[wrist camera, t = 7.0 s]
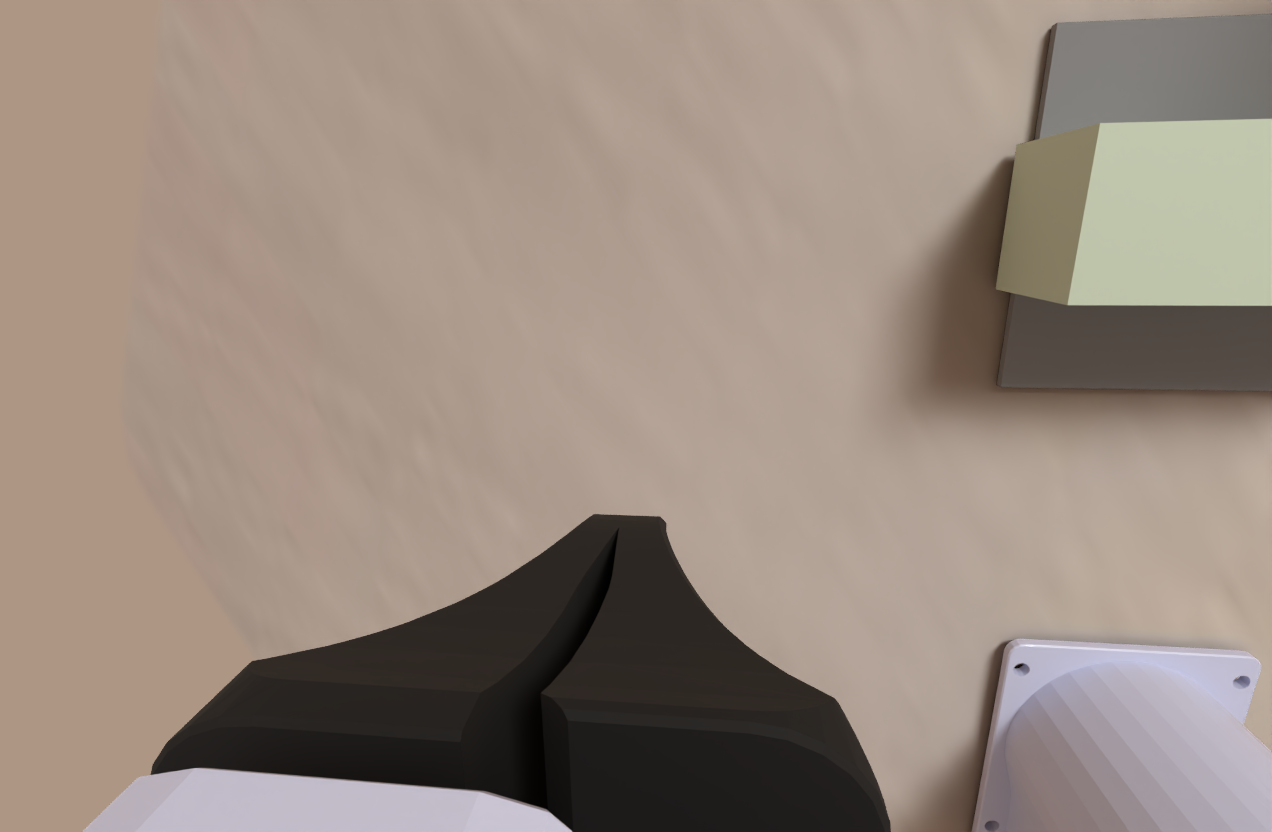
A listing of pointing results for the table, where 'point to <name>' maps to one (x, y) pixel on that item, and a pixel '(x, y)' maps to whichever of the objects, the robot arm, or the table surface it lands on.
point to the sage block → (1143, 215)
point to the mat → (1146, 92)
